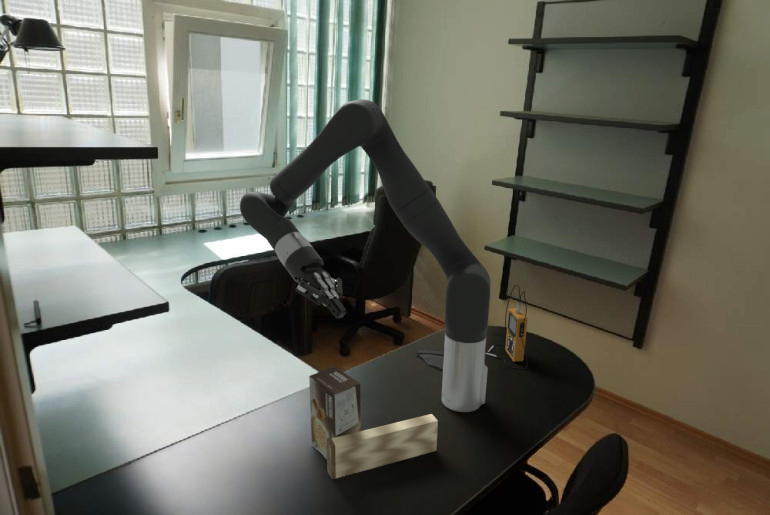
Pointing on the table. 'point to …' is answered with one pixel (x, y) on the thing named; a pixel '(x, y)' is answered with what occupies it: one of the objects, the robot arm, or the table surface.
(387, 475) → the table surface
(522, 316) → the multimeter
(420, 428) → the board
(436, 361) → the curved wedge
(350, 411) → the coffee box
